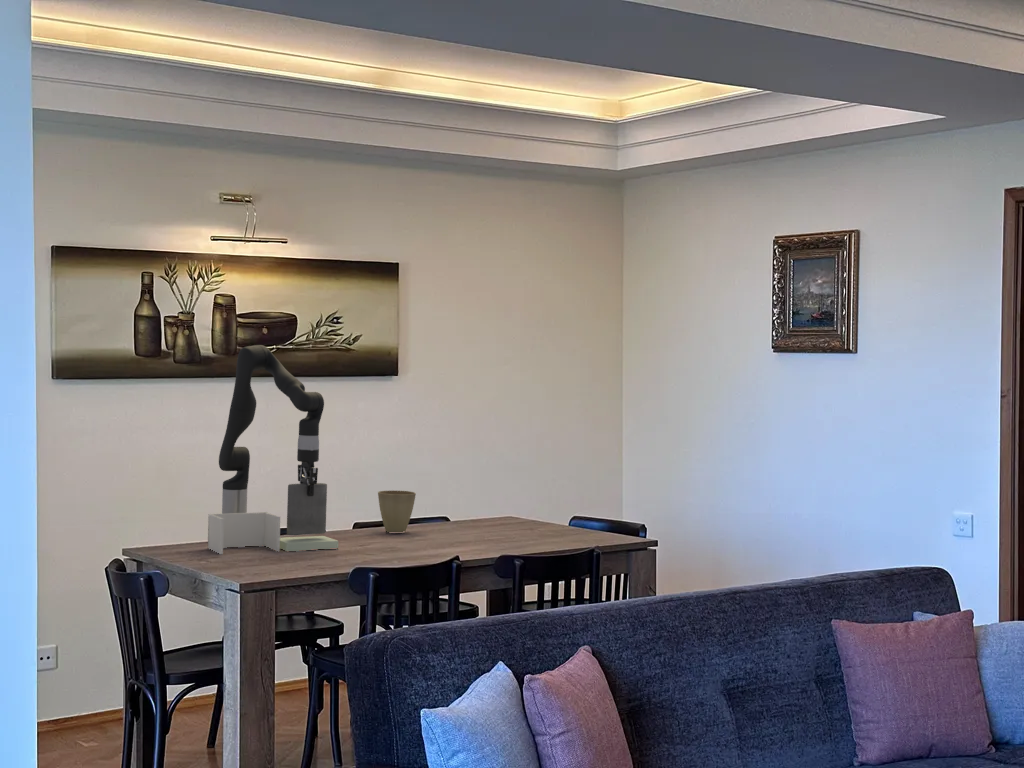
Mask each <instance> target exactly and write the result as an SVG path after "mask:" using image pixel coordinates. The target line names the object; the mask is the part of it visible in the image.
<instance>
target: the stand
mask: <svg viewBox="0 0 1024 768" xmlns="http://www.w3.org/2000/svg"><path fill="white" fill-rule="evenodd" d="M330 548H338V549H339V540H337V539H334V538H332V537H331V538H330V537H328V536H325V535H316V536H314V535H311V536H310V535H309V536H294V537H293V536H290V537H289V536H288V537H280V550H281V549H283V550H285V551H284V552H286V551H296V552H300V551H299V550H311V549H330ZM283 550H282V551H283Z"/></svg>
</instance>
